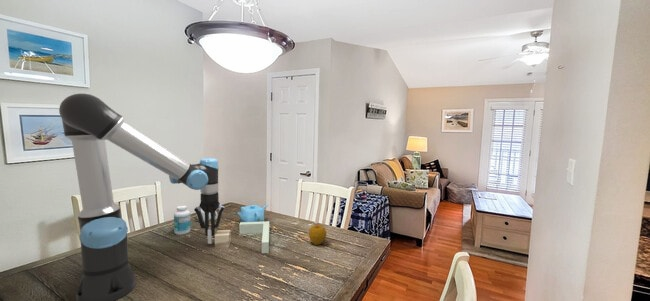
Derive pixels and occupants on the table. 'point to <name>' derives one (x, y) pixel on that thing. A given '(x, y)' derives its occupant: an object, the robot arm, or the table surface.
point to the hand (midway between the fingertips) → (210, 242)
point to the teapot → (252, 213)
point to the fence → (257, 228)
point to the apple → (317, 234)
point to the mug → (204, 215)
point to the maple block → (222, 238)
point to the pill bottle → (181, 220)
